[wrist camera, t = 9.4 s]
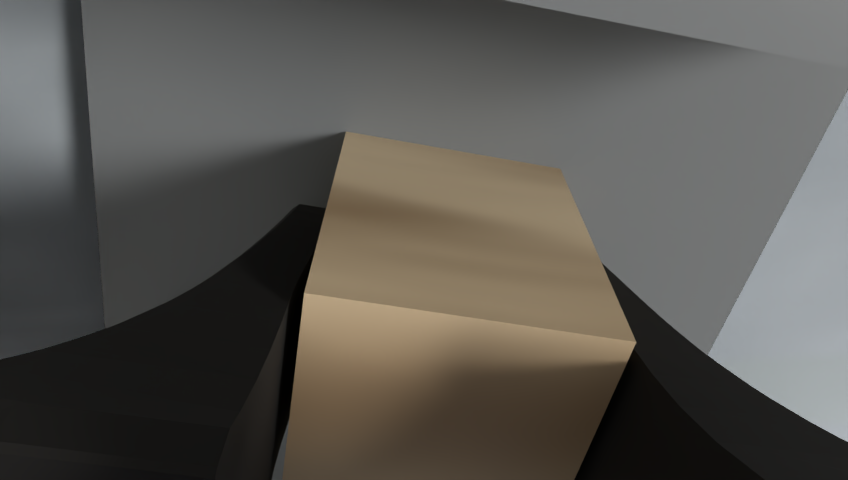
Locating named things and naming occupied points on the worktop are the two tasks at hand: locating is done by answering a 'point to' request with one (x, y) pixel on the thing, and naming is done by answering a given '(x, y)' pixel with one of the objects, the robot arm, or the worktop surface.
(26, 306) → the worktop surface
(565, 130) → the case
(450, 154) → the block
